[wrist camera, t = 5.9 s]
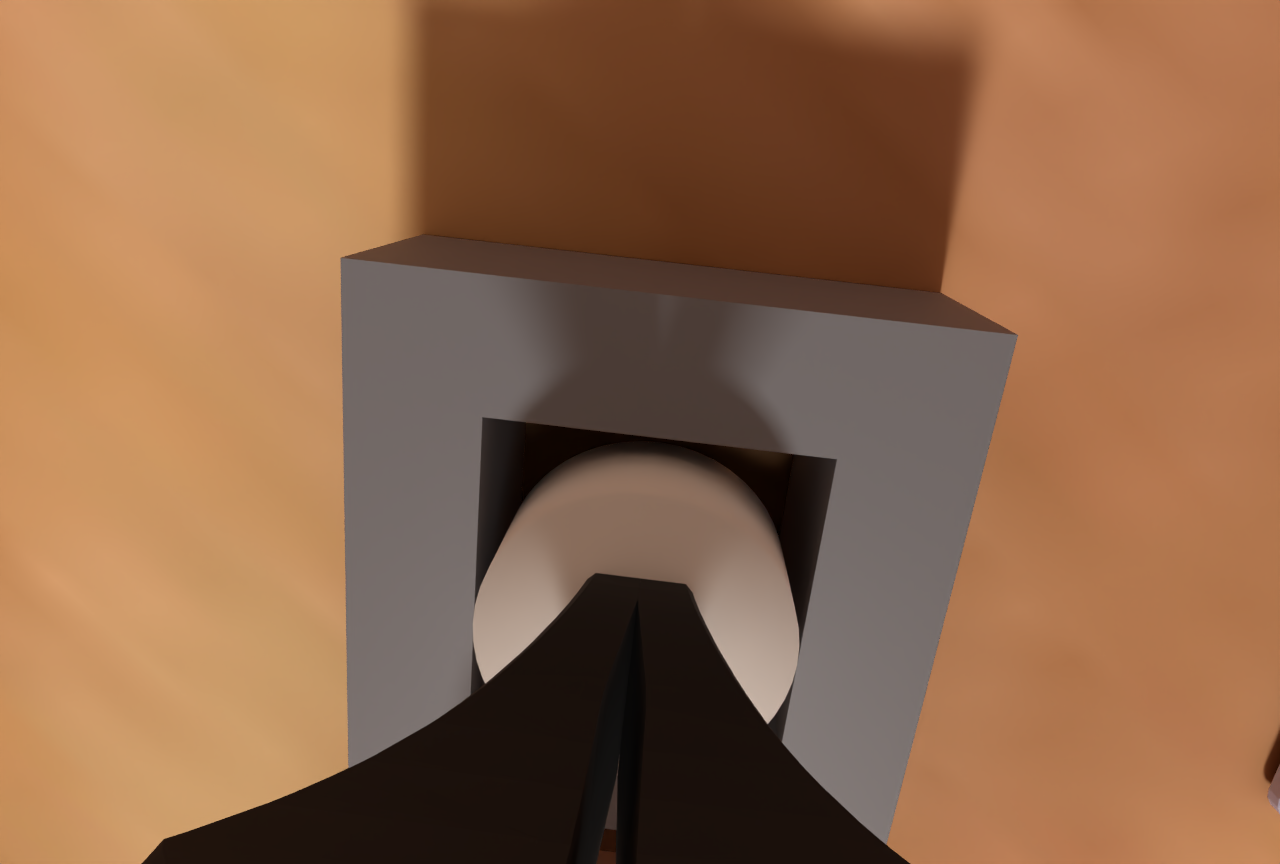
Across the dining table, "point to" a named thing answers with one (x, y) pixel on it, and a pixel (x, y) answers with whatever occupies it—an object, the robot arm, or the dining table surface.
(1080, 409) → the dining table surface
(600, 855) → the knob middle
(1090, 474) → the dining table surface
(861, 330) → the mount
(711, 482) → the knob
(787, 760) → the robot arm
